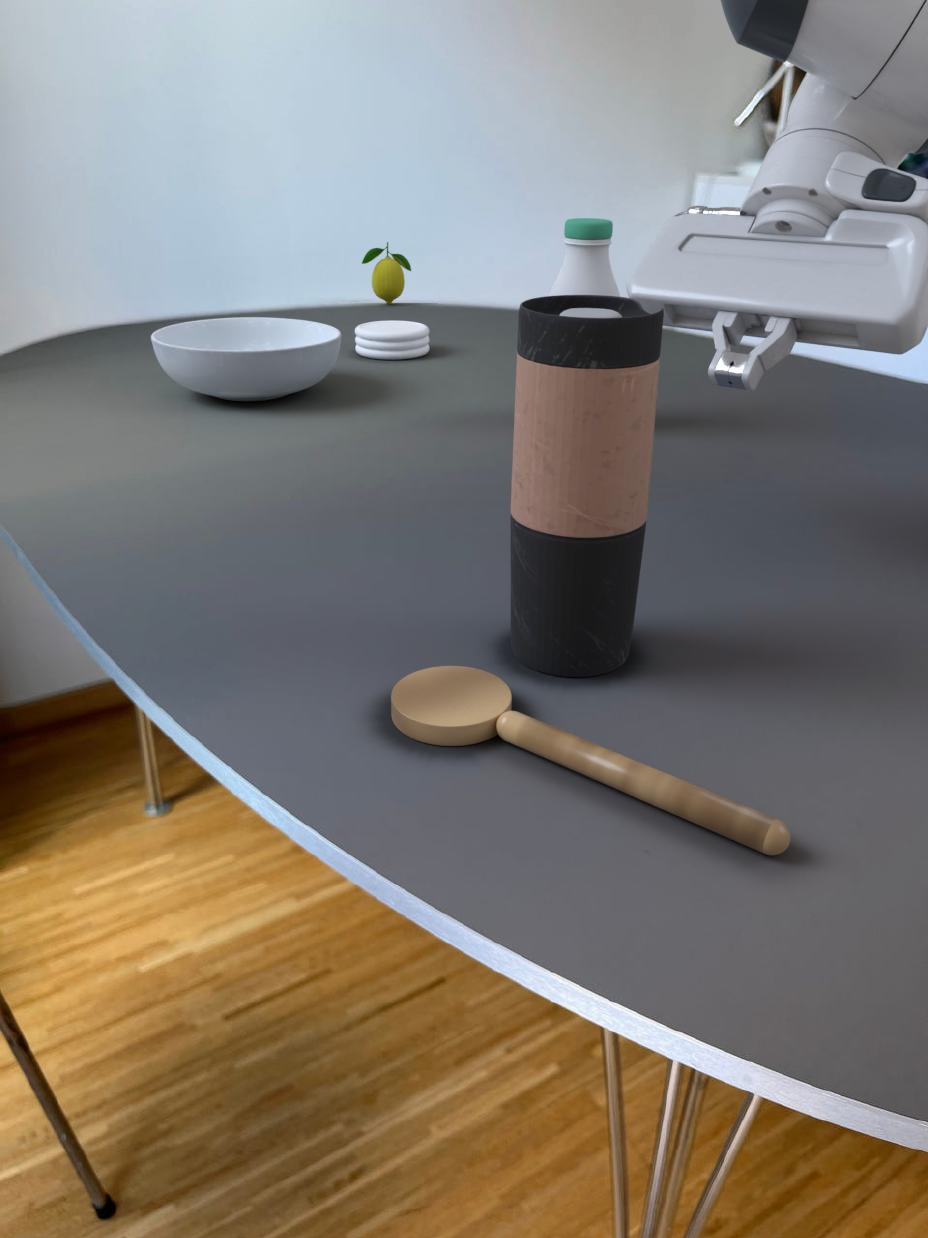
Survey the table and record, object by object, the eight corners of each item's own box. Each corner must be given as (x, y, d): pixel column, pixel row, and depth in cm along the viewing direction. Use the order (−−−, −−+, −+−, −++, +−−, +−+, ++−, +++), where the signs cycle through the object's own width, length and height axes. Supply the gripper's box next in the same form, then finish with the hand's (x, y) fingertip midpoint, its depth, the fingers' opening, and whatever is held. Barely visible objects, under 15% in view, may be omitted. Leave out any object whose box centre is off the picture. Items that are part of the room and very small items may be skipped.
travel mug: (486, 664, 60) (494, 311, 51) (531, 612, 66) (545, 290, 58) (614, 691, 57) (645, 323, 49) (648, 634, 64) (681, 300, 55)
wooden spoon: (815, 823, 47) (820, 794, 46) (753, 897, 42) (759, 866, 42) (444, 672, 59) (444, 648, 58) (366, 717, 55) (365, 691, 54)
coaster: (401, 363, 133) (401, 336, 132) (340, 354, 138) (339, 327, 136) (443, 350, 141) (443, 324, 139) (384, 342, 145) (383, 317, 144)
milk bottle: (623, 419, 109) (639, 218, 100) (601, 438, 103) (615, 224, 94) (555, 411, 112) (564, 214, 103) (528, 428, 106) (536, 220, 97)
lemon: (362, 305, 174) (360, 242, 169) (376, 300, 179) (374, 239, 174) (399, 308, 172) (398, 244, 168) (412, 302, 177) (411, 241, 173)
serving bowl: (333, 416, 109) (330, 350, 106) (136, 415, 109) (127, 349, 106) (351, 372, 128) (349, 315, 125) (183, 371, 128) (176, 314, 125)
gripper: (660, 174, 73) (579, 335, 71) (962, 183, 62) (877, 375, 59) (685, 235, 79) (610, 387, 76) (968, 254, 67) (891, 434, 64)
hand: (729, 383), depth 68 cm, fingers closed
